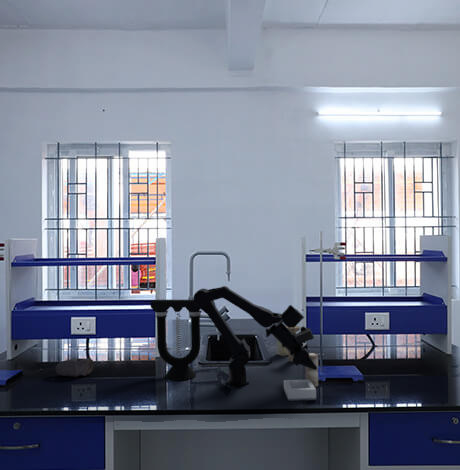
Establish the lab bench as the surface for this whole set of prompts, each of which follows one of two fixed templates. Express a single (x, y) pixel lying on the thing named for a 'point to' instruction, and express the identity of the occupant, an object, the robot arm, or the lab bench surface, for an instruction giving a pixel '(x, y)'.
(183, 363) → the spring support
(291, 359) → the handle
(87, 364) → the perforated stone tool
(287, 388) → the socket block
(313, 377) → the peg
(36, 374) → the lab bench surface
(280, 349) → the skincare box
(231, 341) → the robot arm
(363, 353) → the lab bench surface
